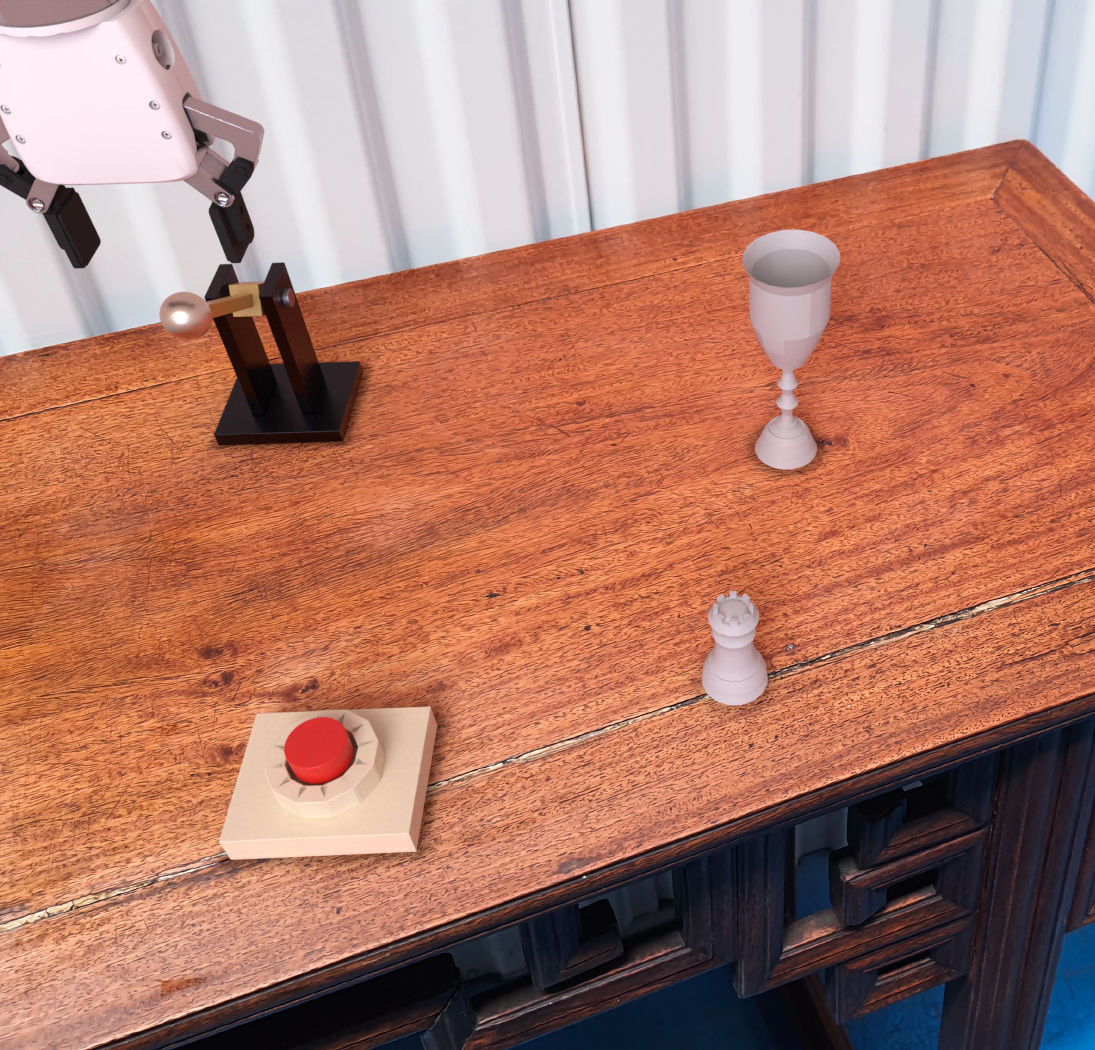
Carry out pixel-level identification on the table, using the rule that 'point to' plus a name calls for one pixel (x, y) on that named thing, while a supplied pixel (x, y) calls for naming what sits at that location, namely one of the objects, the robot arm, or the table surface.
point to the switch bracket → (280, 372)
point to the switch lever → (208, 309)
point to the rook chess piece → (734, 652)
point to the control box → (333, 788)
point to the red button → (318, 750)
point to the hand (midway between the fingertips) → (164, 253)
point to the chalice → (789, 327)
